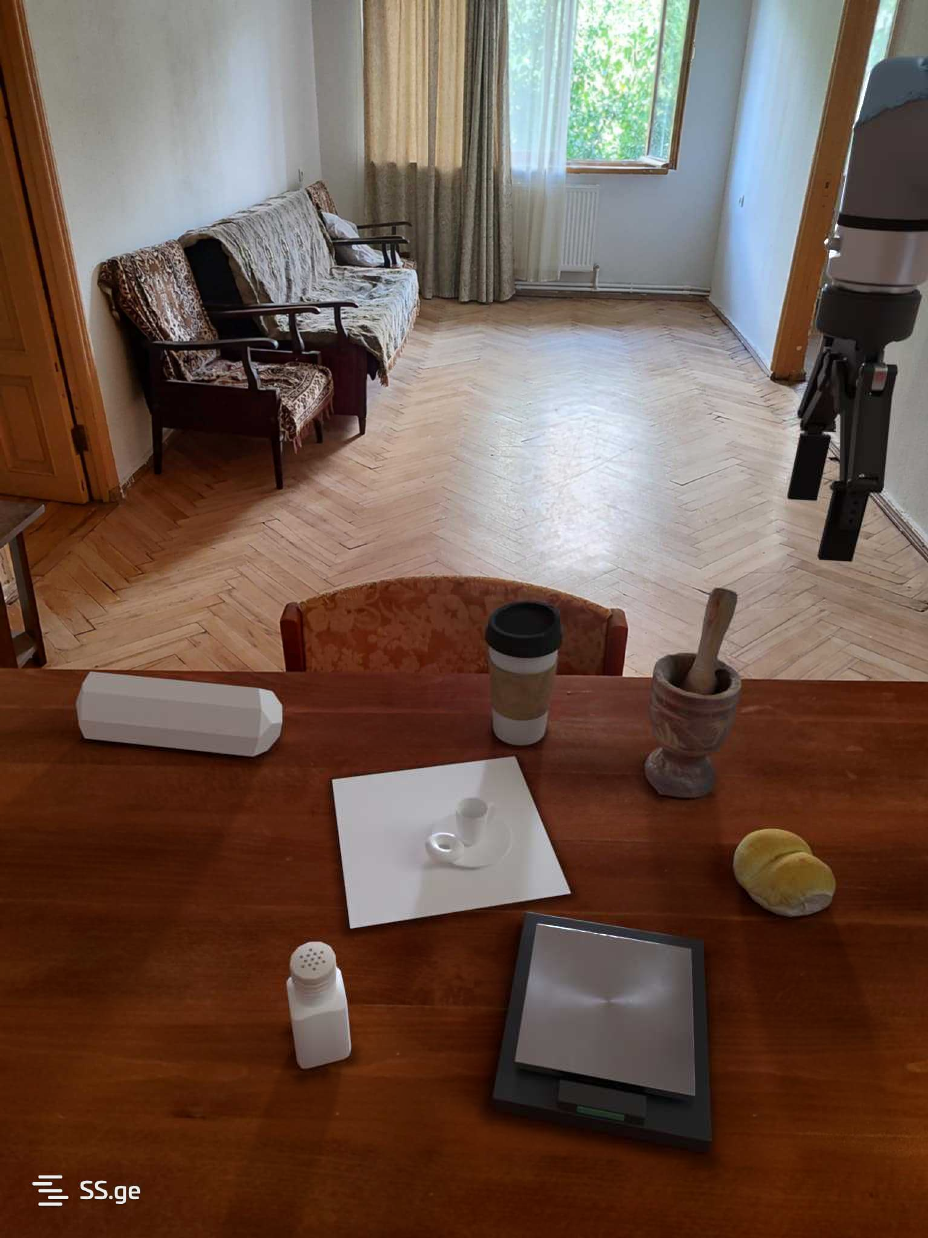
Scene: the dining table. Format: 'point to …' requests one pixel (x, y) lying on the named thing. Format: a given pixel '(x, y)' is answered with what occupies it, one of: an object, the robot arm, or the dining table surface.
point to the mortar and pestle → (693, 707)
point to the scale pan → (609, 1012)
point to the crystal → (178, 714)
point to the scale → (595, 1101)
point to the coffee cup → (522, 668)
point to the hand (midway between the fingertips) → (816, 527)
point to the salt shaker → (318, 1006)
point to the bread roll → (783, 873)
